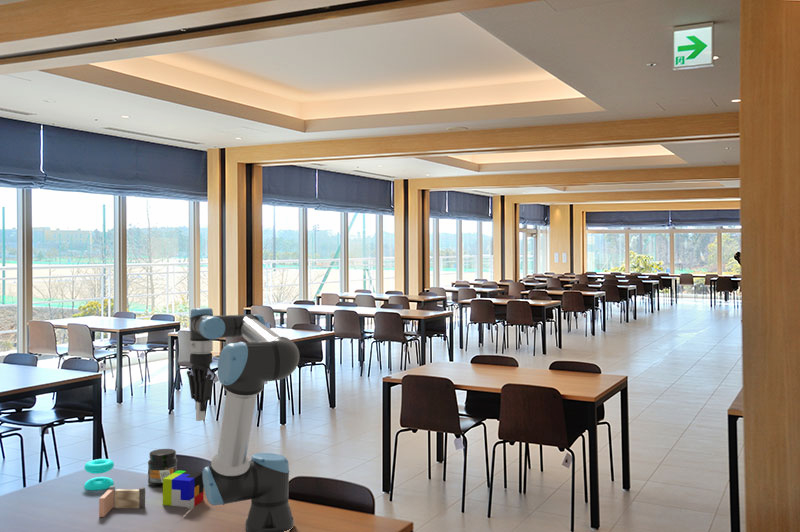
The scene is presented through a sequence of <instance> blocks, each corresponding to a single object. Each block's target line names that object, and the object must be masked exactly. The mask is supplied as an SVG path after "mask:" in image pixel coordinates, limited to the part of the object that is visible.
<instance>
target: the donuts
mask: <svg viewBox="0 0 800 532" xmlns="http://www.w3.org/2000/svg"><path fill="white" fill-rule="evenodd" d="M114 462H115V461H113V460H112V459H109V458H98V459H97V458H96V459H93V460H89V461H87V462H86V463H85V464H84V470H85V471H86V472H87V473H89V474H95V475H96V474H97V475H98V474H104V473H107V472H109V471H111V470H112V469H113V468H114V465H115V464H114ZM110 486H115V485H114V480H113V479H112V478H111V477H107V476H97V477H96V476H95V477H93V478H90V479H88V480H87V481H86V482H85V483H84V486H83V487H84V489H85V490H87V491H100V490H101V491H103V490H108V489H109V487H110Z"/></svg>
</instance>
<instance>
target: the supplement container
mask: <svg viewBox="0 0 800 532" xmlns="http://www.w3.org/2000/svg"><path fill="white" fill-rule="evenodd" d="M148 458H149V460H148V462H147V472H148V473H147V474H148V475H147V483H148V485H149V486H151V487H153V488H163V479H164V478H165V477H167V476H169V475H171V474H172V473H174V472H176V471H178V468H177V467H178V459H177V451H176V450H175V449H171V448H159V449H155V450H152V451H150V452H149V457H148Z"/></svg>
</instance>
